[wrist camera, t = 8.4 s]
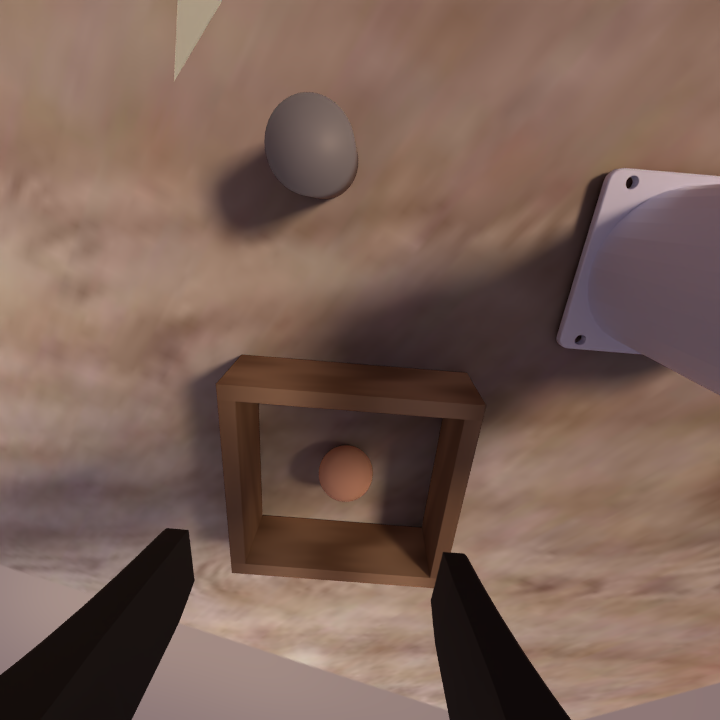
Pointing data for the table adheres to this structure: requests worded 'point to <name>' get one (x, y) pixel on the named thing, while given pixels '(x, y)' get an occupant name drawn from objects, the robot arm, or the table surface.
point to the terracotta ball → (345, 473)
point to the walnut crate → (337, 538)
